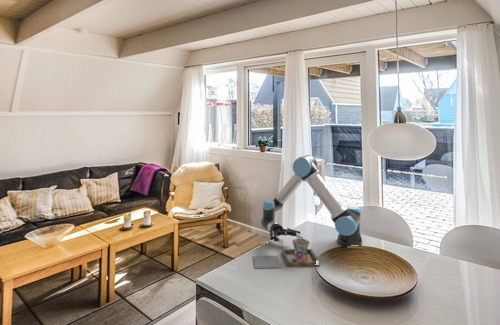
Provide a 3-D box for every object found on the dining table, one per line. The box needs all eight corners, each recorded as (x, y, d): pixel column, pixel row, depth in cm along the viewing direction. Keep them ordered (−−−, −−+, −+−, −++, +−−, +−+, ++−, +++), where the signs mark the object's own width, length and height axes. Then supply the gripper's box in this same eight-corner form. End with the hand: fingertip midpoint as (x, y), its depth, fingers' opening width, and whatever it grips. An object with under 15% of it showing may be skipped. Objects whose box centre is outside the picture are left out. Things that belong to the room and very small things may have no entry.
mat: (277, 256, 166) (277, 255, 166) (281, 268, 152) (281, 267, 152) (253, 256, 165) (253, 256, 165) (254, 268, 151) (254, 267, 151)
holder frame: (311, 252, 172) (311, 248, 172) (319, 266, 155) (320, 262, 154) (281, 252, 171) (282, 249, 171) (287, 266, 154) (287, 263, 153)
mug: (310, 264, 157) (311, 245, 155) (293, 264, 157) (293, 245, 155) (306, 254, 169) (306, 236, 167) (290, 254, 169) (290, 236, 167)
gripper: (291, 231, 193) (310, 243, 174) (257, 237, 184) (273, 250, 164) (292, 220, 193) (310, 231, 173) (257, 225, 183) (273, 237, 163)
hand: (292, 240), depth 169 cm, fingers open, 13 cm apart
